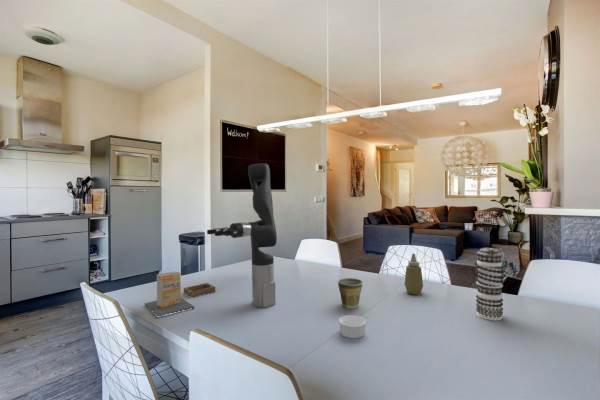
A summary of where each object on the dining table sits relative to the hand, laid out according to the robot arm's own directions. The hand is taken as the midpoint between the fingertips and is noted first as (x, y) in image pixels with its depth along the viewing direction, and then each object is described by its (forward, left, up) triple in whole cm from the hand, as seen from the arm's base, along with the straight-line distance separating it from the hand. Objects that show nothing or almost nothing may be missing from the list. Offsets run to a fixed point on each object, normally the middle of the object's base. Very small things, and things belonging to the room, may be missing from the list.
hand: (211, 233), depth 147 cm
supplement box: (-8, +23, -27) cm, 36 cm away
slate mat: (-8, +23, -28) cm, 37 cm away
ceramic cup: (-58, -34, -28) cm, 73 cm away
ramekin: (-75, -14, -28) cm, 81 cm away
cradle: (+1, +6, -28) cm, 29 cm away
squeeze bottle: (-69, -66, -28) cm, 99 cm away
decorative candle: (-101, -62, -28) cm, 122 cm away
